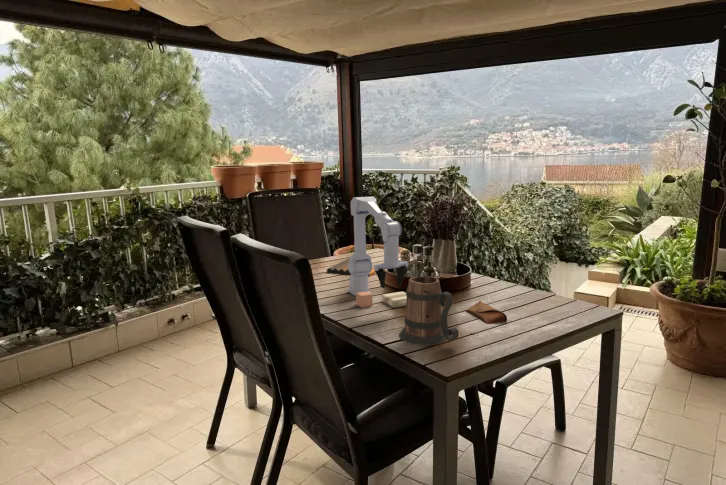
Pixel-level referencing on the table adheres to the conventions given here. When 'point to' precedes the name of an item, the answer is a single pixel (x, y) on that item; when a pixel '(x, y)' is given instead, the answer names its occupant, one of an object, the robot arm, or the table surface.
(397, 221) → the robot arm
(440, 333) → the tankard
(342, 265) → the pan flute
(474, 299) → the table surface
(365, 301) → the cube
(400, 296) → the base
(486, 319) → the sunglasses case
